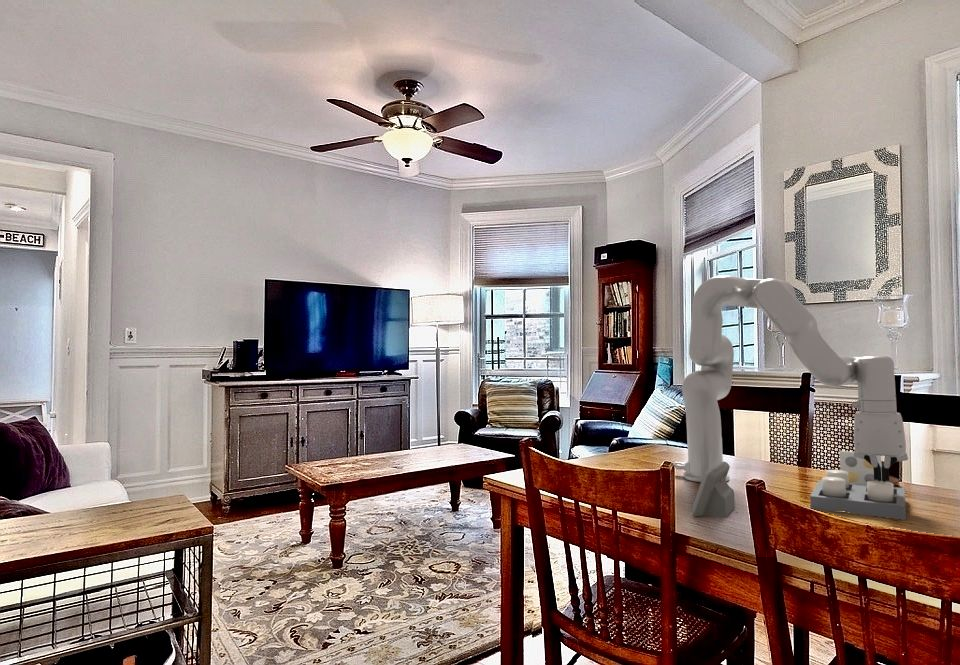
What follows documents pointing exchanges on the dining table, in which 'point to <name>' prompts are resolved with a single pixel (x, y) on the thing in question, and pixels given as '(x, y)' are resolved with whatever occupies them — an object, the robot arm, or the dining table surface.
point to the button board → (859, 502)
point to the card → (857, 468)
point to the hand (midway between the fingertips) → (881, 483)
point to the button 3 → (880, 491)
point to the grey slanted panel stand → (714, 493)
